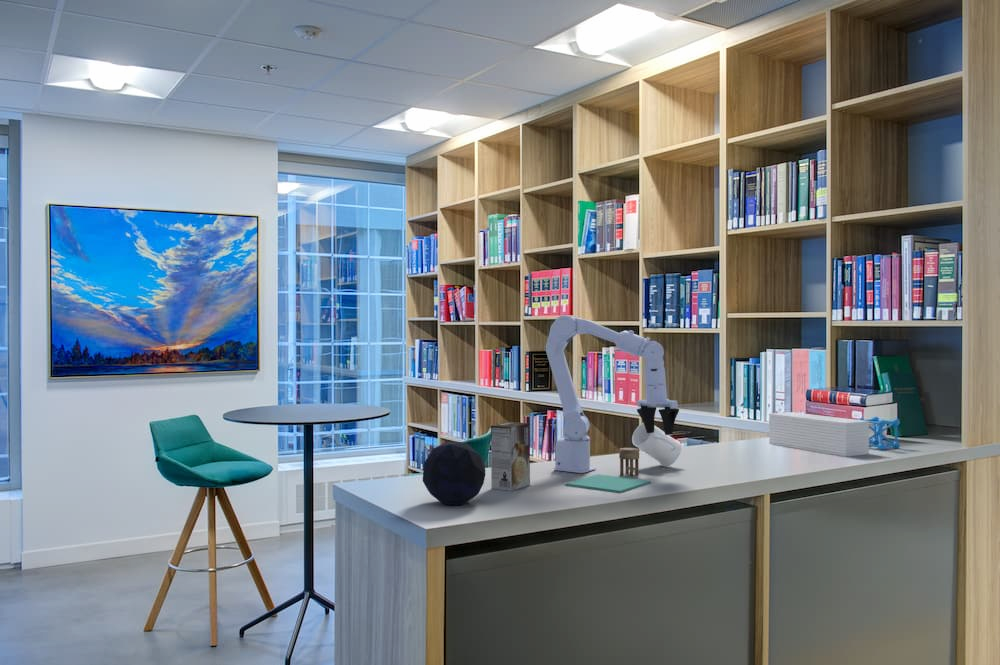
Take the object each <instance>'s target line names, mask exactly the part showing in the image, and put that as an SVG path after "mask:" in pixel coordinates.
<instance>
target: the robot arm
mask: <svg viewBox="0 0 1000 665" xmlns="http://www.w3.org/2000/svg"><path fill="white" fill-rule="evenodd" d="M548 333H549V334H548V337H547V340H546V344H545V352H546V355H547V359H548V362H549V366H550V370H551V373H552V376H553V379H554V384H555V386H556V390H557V392H558V396H559V400H560V402H561V408H562V413H563V414H562V415H563V420H564V425H563V431H564V434H565V436H563V437H560V438H558V440H557V441H556V444H555V448H554V449H555V450H554V452H555V455H554V459H555V462H554V463H555V467H554V468H553V470H554V471H562V472H569V473H578V474H584V473H587V472H591V471H594V470H595V471H596V470H597V467H594V466H593V467H592V466H591V437H590V436H589V435H588V432H589V430H590V428H591V424H590V420H589V418H588V417H587V416H586V415H585V414H584V410H583V408H582V406H581V404H580V402H579V397H578V394H577V392H576V389H575V388H576V387H575V385H574V382H573V379H572V376H571V372H570V368H569V365H568V362H567V359H566V358H567V357H566V355H565V351H564V350H566V347H567V346H568V344H569V343H570V342H569V341H571V340H572V339H573V338H574V337H575V336H576V335H586V334H589V335H592V336H594V337H598V338H600V339H603V340H606V341H609V342H611V343H614V344H615V346H616V349H617V350H619V351H621V352H624V353H626V354H628V355H632V356H634V357H637V358H640V357H641V358H643V360H644V361H643V362H644V368H643V374H644V388H645V389H644V390H645V399H638V400H637V409H636V412H637V413H638V415H639V417H640V418H641V420H642V423H644V426H645V429H646V432H647V433H654V425H655V418H656V417H655V416H656V411H657V408H658V412H659V415H660V417H661V420H662V426H663V432H665V435H669V436H671V435H673V432H674V425H675V422H676V419H677V416H678V413H679V412H680V409H679V406H678V405H679V403H678V400H673V399H671V400H670V399H669V398H668V394H667V381H666V380H667V379H666V369H665V368H666V367H665V366H664V365H665V361H664V358H663V357H664V353H665V351H664V347H663V346H662V344H660V343H659V342H657V341H656V340H651V341H650V339H651V338H650V337H648V336H646V338H645V337H643V336H642V335H641V336H640V335H639V334H635V331H634V330H631V329H630V330H623V331H620V332H617V331H615V330H612V329H611V328H608V327H606V326H603V325H601V324H599V323H597V322H594V321H592V320H589V319H584V318H579V317H574V316H572V315H566V314H563V315H560V316H558V317H556V319H555V320H554V321H553V323H552V324H551V325H550V330H549V332H548Z"/></svg>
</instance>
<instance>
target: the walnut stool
mask: <svg viewBox="0 0 1000 665" xmlns="http://www.w3.org/2000/svg"><path fill="white" fill-rule="evenodd" d="M618 450H619V451H618V452H619V453H618V454H619V470H620V471H619V475H620V476H624V473H625V474H626V475H627V474H629V477H634V475H636V476H638V475H639V474H640V472H639V459H640V449H639V448H638V447H637V448H635V447H623V448H622V447H620V448H619V449H618ZM624 460H625V461H624ZM624 462H625V468H624ZM634 464H635V465H634ZM624 469H625V470H624ZM624 471H625V472H624Z"/></svg>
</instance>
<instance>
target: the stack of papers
mask: <svg viewBox="0 0 1000 665" xmlns="http://www.w3.org/2000/svg"><path fill="white" fill-rule="evenodd" d="M864 420H865V419H864ZM864 420H857V419H854V418H845V417H837V416H828V415H821V414H812V413H811V414H810V413H802V412H793V411H791V412H790V411H788V412H787V411H786V412H774V413H773V412H772V413H768V432H769V433H768V444H769V445H775V446H780V447H782V446H783V447H785V448H786V447H787V448H792V449H799V450H804V451H810V452H811V451H812V452H817V453H822V454H829V455H834V456H841V457H853V456H863V455H870V446H868V445H869V443H868V442H870V440H868V439H869V437H870V428H868V427H869V426H870V423H869V421H864Z"/></svg>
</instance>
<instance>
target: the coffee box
mask: <svg viewBox="0 0 1000 665" xmlns="http://www.w3.org/2000/svg"><path fill="white" fill-rule="evenodd" d="M530 449H531V448H530V422H519V421H518V422H515V421H507V422H503V423H498V424H492V425H490V456H491V457H490V460H491V461H490V465H491V466H490V468H491V469H490V470H491V472H490V474H491V489H493V490H501V491H508V492H509V491H510V492H513V491H516V490H518V489H521V488H524V487H527V486H529V485H531V472H530V471H531V469H530V468H531V461H530V460H531V458H530V456H531V454H530V453H531V452H530Z"/></svg>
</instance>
